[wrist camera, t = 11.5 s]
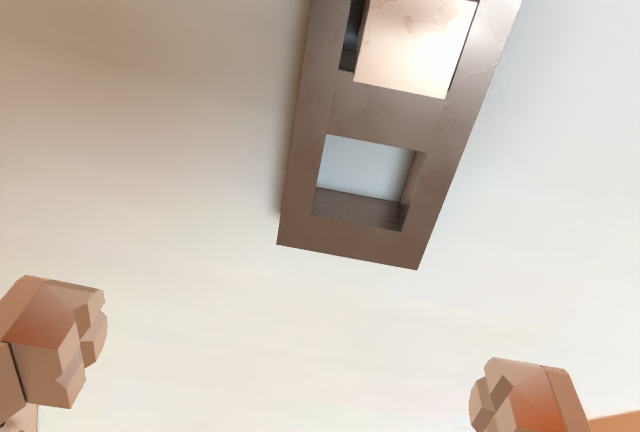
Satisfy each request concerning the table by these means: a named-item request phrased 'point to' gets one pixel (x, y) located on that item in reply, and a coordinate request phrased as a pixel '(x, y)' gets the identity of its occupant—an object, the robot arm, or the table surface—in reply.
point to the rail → (381, 139)
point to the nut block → (411, 44)
